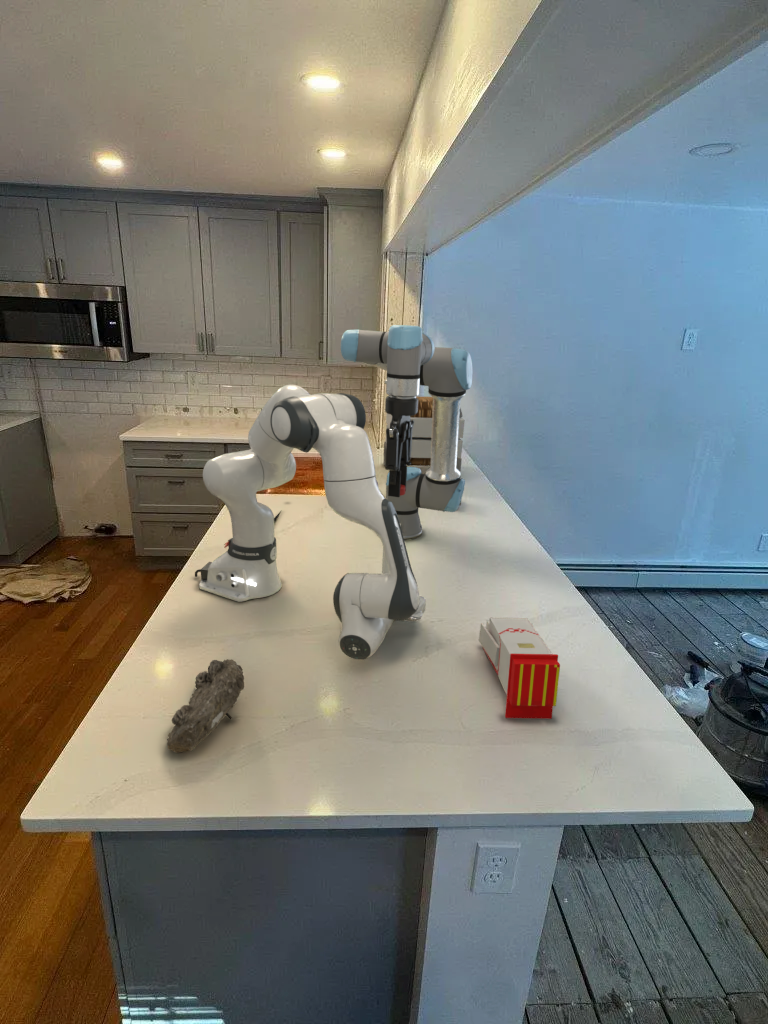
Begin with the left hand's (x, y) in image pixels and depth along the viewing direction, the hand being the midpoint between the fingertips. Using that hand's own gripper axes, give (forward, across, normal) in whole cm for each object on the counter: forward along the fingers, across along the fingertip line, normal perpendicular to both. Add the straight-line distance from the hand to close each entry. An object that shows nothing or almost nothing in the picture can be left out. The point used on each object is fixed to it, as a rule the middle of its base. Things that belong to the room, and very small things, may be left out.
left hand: (392, 587), depth 147 cm
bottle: (-1, 0, +7) cm, 7 cm away
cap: (0, 0, -27) cm, 27 cm away
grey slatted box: (+132, +23, +7) cm, 135 cm away
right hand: (0, 0, -26) cm, 26 cm away
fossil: (-51, +21, +7) cm, 56 cm away
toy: (-18, -33, +7) cm, 38 cm away
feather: (+54, +59, +7) cm, 80 cm away
